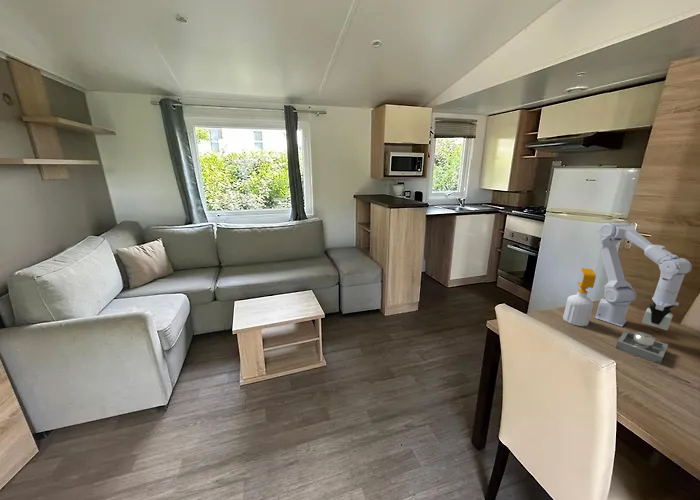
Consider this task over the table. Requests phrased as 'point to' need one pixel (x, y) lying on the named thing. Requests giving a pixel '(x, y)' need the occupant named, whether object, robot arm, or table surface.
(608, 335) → the table surface
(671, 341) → the table surface
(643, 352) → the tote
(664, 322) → the pale upright block
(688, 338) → the table surface
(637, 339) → the metal can
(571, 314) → the soap bottle
